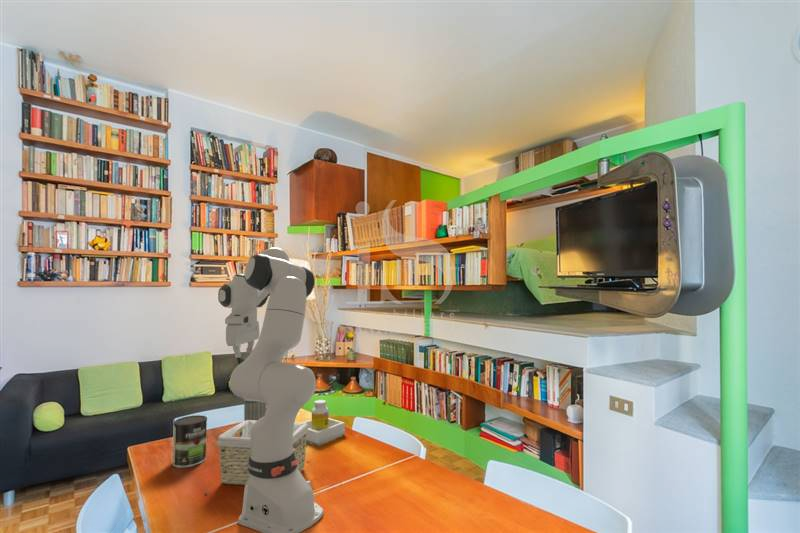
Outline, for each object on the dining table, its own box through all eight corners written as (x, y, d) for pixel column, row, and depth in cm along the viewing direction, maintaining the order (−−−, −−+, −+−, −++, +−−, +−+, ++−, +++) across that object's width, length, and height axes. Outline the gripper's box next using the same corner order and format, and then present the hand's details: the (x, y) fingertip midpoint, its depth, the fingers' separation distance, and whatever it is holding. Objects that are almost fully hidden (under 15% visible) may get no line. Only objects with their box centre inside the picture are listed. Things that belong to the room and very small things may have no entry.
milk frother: (257, 440, 154) (258, 402, 155) (224, 436, 158) (224, 399, 159) (278, 427, 167) (278, 392, 168) (246, 424, 172) (247, 390, 172)
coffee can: (211, 459, 136) (212, 418, 137) (180, 470, 128) (181, 427, 129) (197, 452, 143) (198, 413, 143) (167, 462, 134) (168, 420, 135)
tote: (344, 435, 158) (344, 422, 159) (317, 446, 147) (317, 432, 147) (321, 427, 167) (321, 415, 167) (294, 437, 156) (294, 425, 156)
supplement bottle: (326, 437, 154) (326, 403, 154) (309, 437, 154) (310, 403, 154) (329, 430, 160) (329, 399, 161) (313, 430, 160) (313, 399, 161)
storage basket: (214, 485, 119) (214, 435, 120) (244, 462, 135) (245, 418, 135) (287, 492, 114) (287, 440, 115) (310, 467, 130) (310, 422, 131)
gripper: (248, 315, 156) (247, 350, 155) (222, 319, 135) (221, 360, 135) (263, 315, 155) (263, 350, 155) (240, 319, 135) (239, 360, 134)
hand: (243, 355), depth 144 cm, fingers open, 8 cm apart
